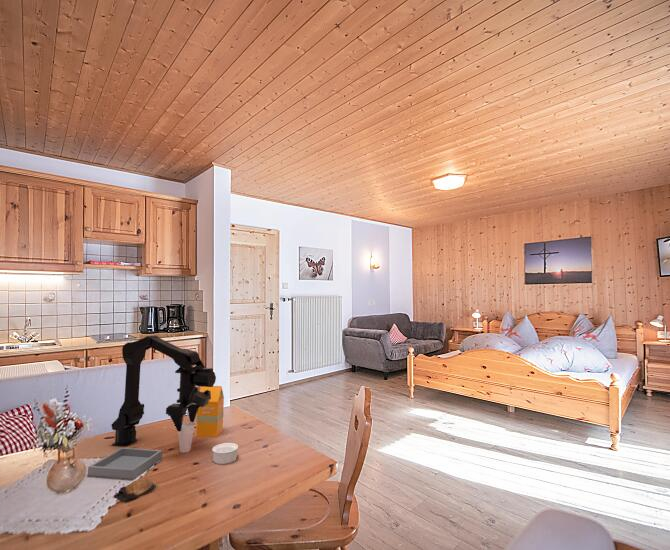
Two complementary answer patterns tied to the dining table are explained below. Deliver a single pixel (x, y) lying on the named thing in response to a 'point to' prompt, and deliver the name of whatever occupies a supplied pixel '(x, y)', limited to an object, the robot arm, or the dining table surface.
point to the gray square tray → (125, 463)
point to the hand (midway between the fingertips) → (185, 426)
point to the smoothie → (186, 435)
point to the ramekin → (225, 453)
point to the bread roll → (135, 490)
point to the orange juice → (211, 414)
